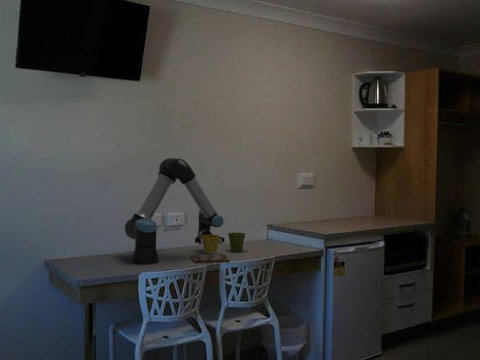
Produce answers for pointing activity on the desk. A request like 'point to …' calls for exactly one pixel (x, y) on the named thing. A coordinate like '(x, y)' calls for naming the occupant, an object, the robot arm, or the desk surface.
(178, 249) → the desk surface
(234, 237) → the plant pot
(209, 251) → the plant pot
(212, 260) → the base plate
